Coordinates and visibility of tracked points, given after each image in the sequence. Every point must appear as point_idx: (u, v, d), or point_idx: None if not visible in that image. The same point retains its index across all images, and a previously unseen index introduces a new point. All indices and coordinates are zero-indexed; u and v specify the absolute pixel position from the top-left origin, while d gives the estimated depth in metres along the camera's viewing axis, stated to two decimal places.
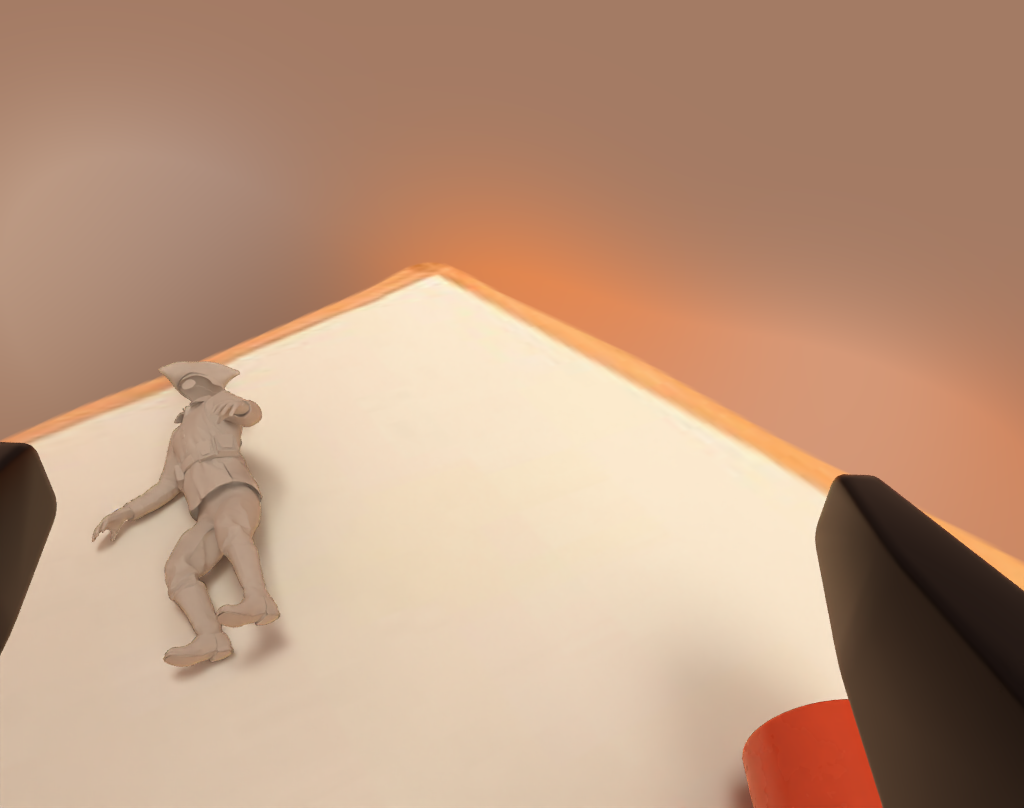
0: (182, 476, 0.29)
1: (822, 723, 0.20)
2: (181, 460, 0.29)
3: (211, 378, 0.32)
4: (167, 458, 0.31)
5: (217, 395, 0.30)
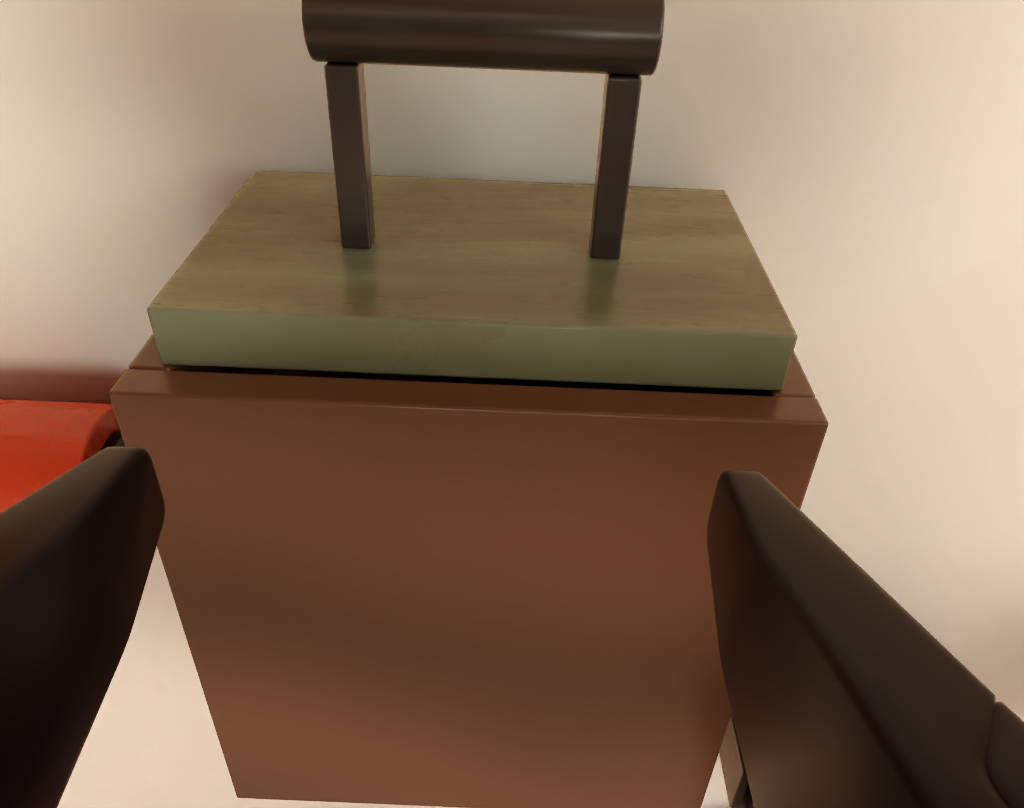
0: None
1: None
2: None
3: None
4: None
5: None
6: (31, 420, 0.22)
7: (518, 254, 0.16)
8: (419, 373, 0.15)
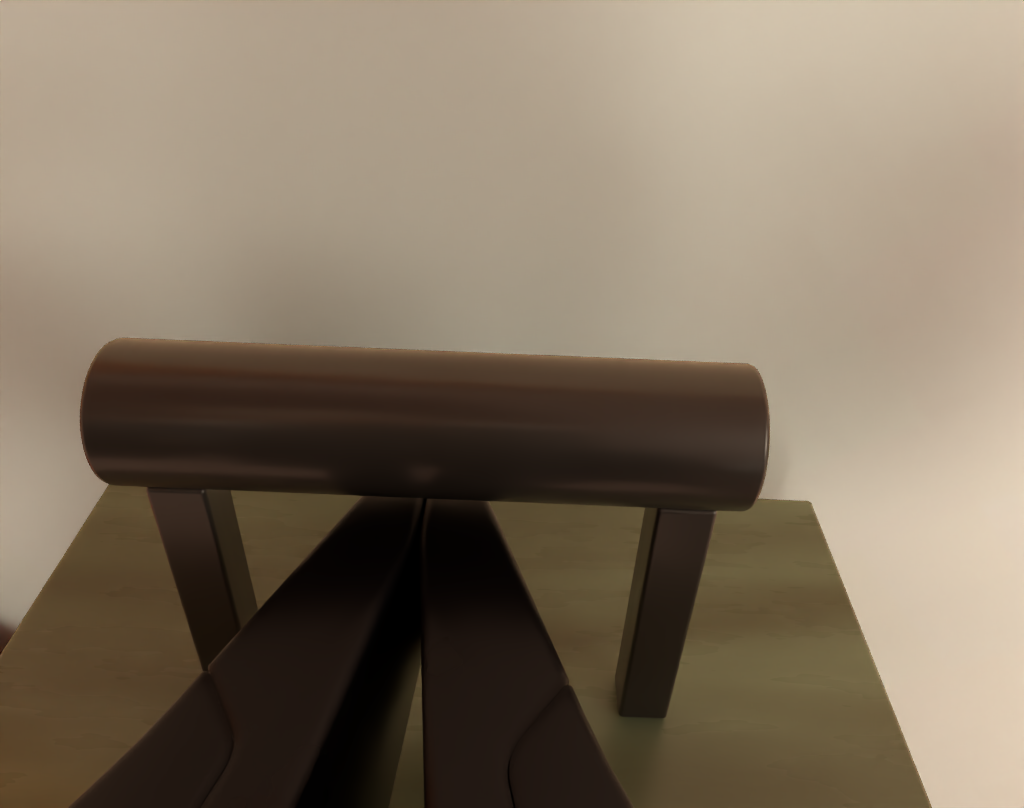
0: None
1: None
2: None
3: None
4: None
5: None
6: None
7: None
8: None
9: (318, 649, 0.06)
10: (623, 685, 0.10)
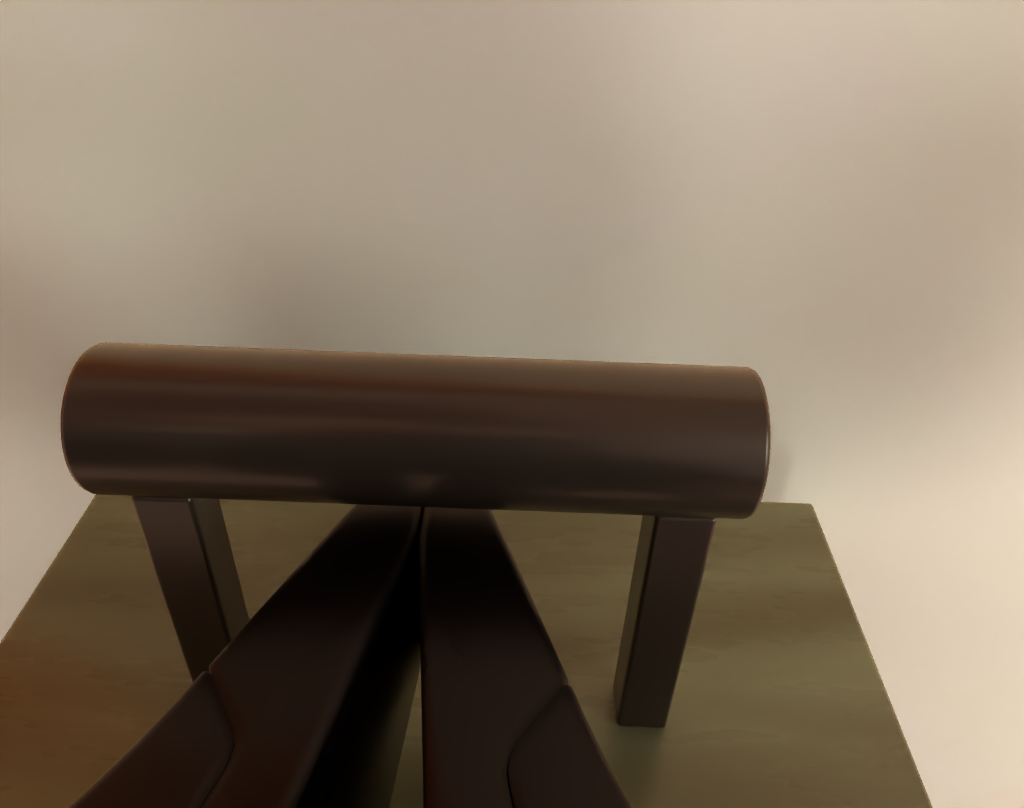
0: None
1: None
2: None
3: None
4: None
5: None
6: None
7: None
8: None
9: (318, 649, 0.06)
10: (621, 694, 0.09)
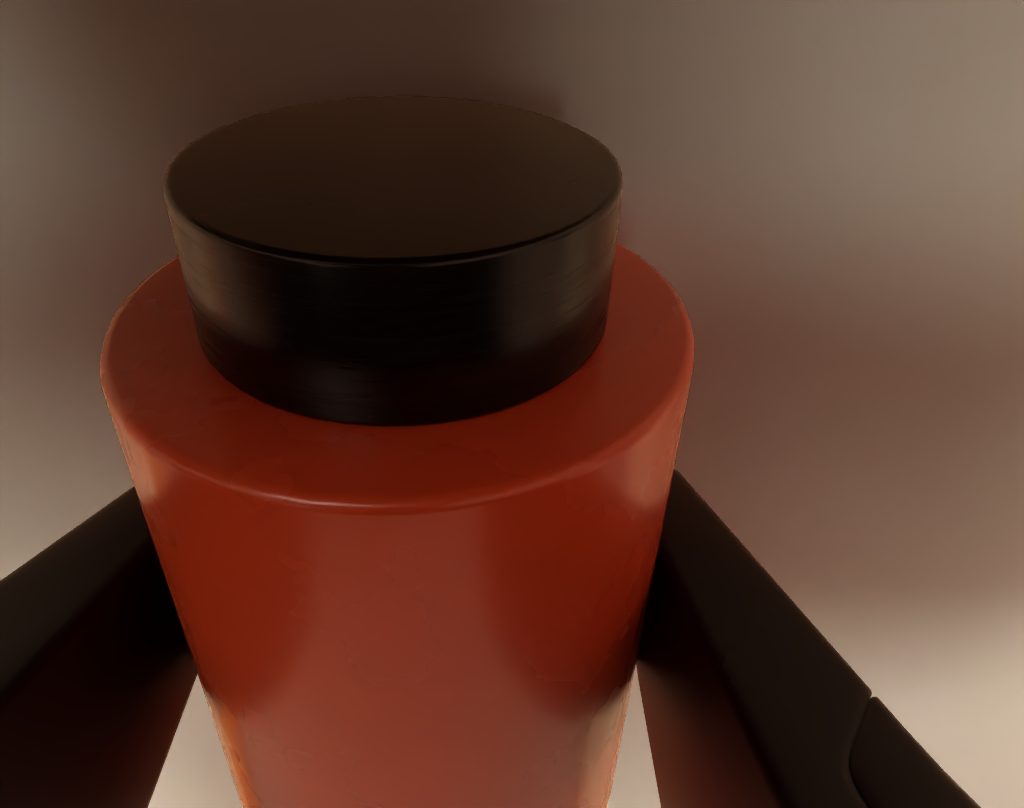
0: None
1: None
2: None
3: None
4: None
5: None
6: (159, 558, 0.07)
7: None
8: None
9: (15, 638, 0.06)
10: None
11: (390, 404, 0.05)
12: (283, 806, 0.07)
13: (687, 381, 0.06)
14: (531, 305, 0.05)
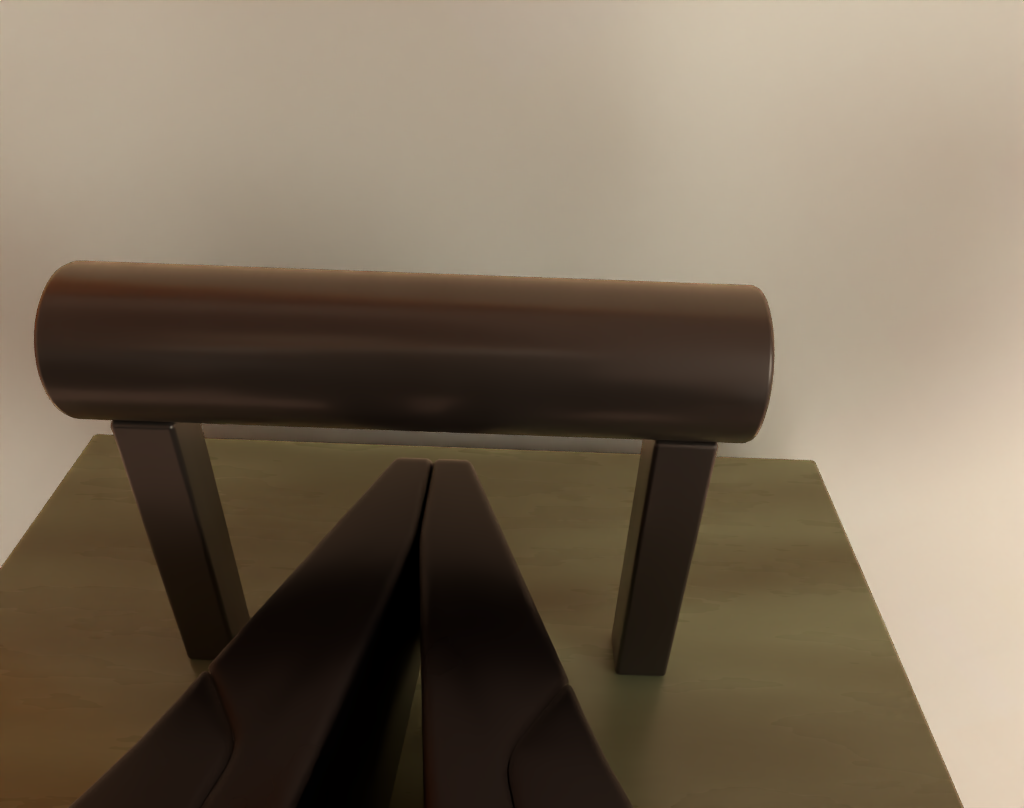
0: None
1: None
2: None
3: None
4: None
5: None
6: None
7: None
8: None
9: (318, 649, 0.06)
10: (620, 640, 0.09)
11: None
12: None
13: None
14: None
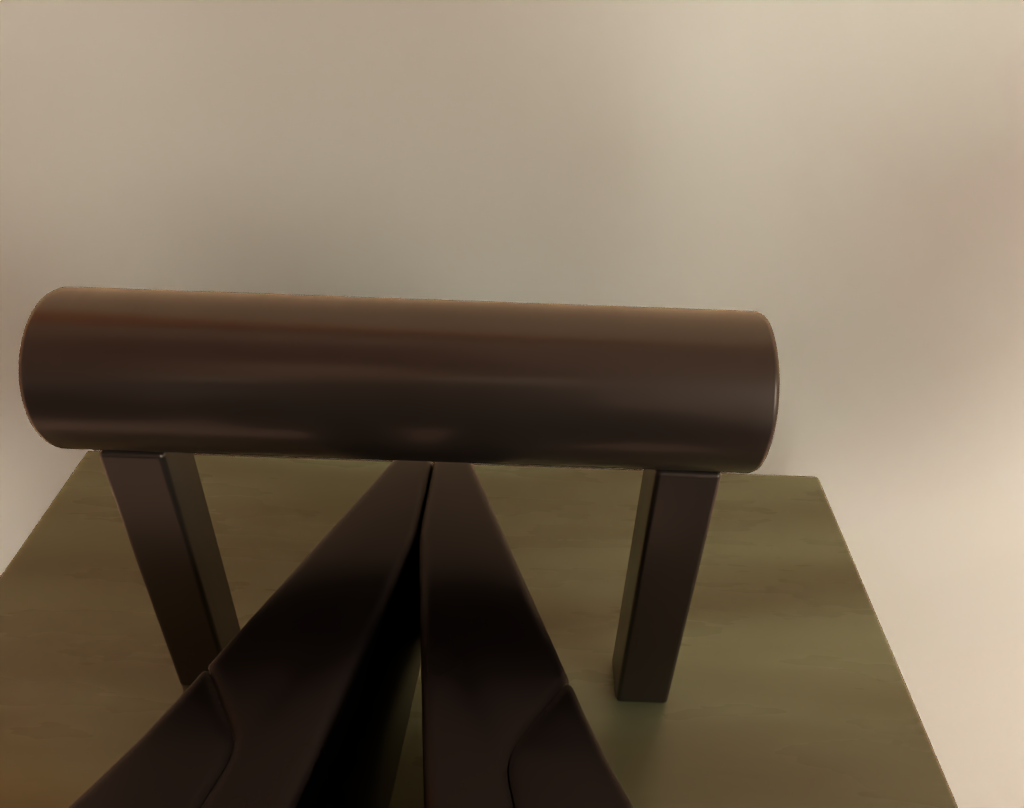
0: None
1: None
2: None
3: None
4: None
5: None
6: None
7: None
8: None
9: (318, 650, 0.06)
10: (621, 667, 0.09)
11: None
12: None
13: None
14: None
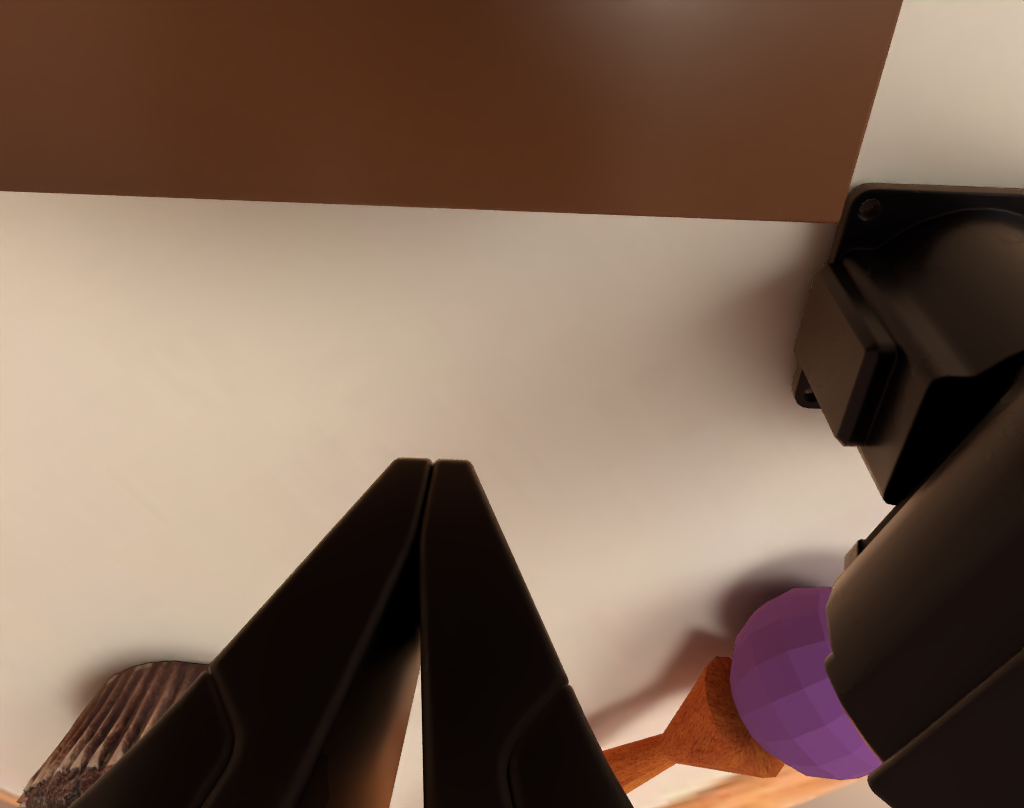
0: None
1: None
2: None
3: None
4: None
5: None
6: None
7: None
8: None
9: (318, 649, 0.06)
10: None
11: None
12: None
13: None
14: None
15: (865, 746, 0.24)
